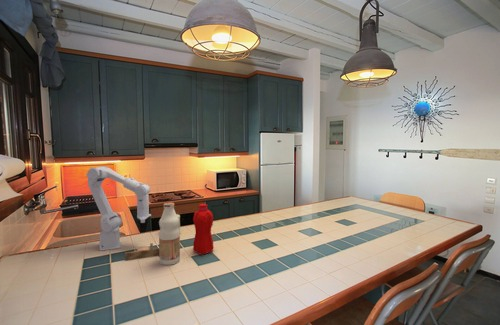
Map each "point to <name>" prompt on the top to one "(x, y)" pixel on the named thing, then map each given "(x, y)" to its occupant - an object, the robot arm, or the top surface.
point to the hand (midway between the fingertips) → (143, 232)
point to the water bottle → (203, 230)
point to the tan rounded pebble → (143, 248)
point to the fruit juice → (169, 236)
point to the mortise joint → (142, 253)
